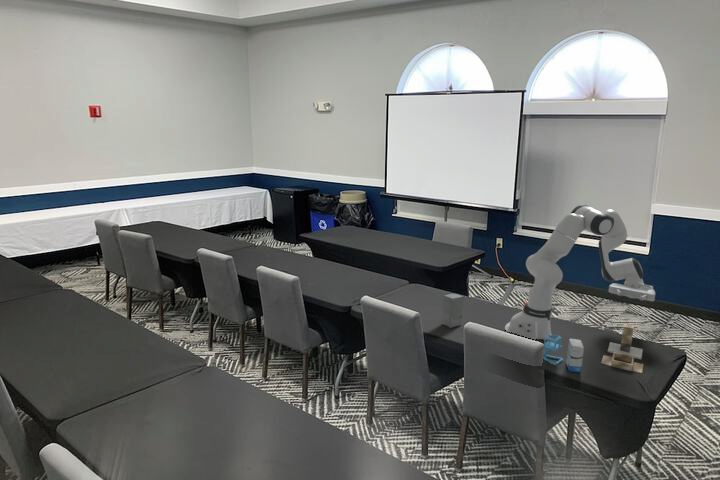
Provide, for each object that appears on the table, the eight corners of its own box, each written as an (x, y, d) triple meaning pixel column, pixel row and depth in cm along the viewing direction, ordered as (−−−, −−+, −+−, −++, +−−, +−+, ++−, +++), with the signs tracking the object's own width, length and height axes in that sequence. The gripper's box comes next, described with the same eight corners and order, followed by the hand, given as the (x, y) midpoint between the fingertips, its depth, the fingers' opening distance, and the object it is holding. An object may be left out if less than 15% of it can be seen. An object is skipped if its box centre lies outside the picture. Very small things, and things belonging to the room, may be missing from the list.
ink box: (581, 373, 224) (584, 347, 221) (569, 371, 225) (572, 346, 222) (577, 363, 232) (580, 339, 229) (565, 362, 233) (568, 338, 230)
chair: (545, 354, 241) (548, 330, 238) (563, 360, 235) (566, 335, 232) (537, 359, 235) (540, 334, 232) (555, 366, 230) (558, 340, 227)
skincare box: (450, 328, 266) (452, 299, 262) (440, 323, 272) (442, 294, 268) (462, 325, 271) (464, 296, 267) (453, 320, 277) (454, 292, 273)
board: (607, 351, 244) (607, 349, 244) (609, 343, 252) (610, 342, 252) (641, 359, 237) (641, 357, 237) (642, 351, 245) (642, 349, 245)
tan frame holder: (600, 363, 232) (601, 357, 231) (603, 355, 240) (604, 349, 239) (641, 373, 224) (643, 367, 224) (643, 365, 232) (644, 358, 231)
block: (619, 350, 243) (623, 326, 240) (621, 346, 247) (624, 322, 244) (629, 352, 241) (633, 328, 238) (630, 348, 245) (634, 324, 242)
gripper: (611, 278, 265) (607, 285, 254) (656, 287, 256) (655, 294, 244) (608, 290, 267) (605, 297, 255) (654, 299, 257) (652, 307, 245)
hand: (630, 296), depth 250 cm, fingers open, 8 cm apart
